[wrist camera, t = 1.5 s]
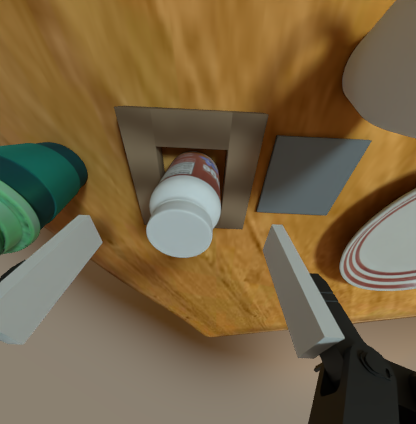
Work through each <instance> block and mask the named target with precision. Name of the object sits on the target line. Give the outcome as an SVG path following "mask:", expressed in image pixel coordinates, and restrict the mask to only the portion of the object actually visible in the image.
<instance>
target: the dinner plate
mask: <svg viewBox="0 0 416 424" xmlns="http://www.w3.org/2000/svg"><path fill="white" fill-rule="evenodd" d="M339 269H340V273H341V275H342V277H343V278H344V279H345V280H346V281H347V282H348V283H350V284H351V285H353V286H356V287H359V288H363V289H368V290H377V291H397V290H408V289H415V288H416V188H415V189H413V190H412V191H410V192H408V193H406V194H405V195H403V196H401V197H400V198H398V199H397V200H395V201H394V202H392V203H391V204H389V205H388V206H386V207H385V208H384V209H382V210H381V211H380V212H378V213H377V214H376V215H375V216H373V217H372V218H371V219H370V220H369V221H368V222H367V223H366V224H364V225H363V226H362V227H361V228H360V229H359V230H358V232H357V233H356V234H355V235H354V236H353V238H352V239H351V240H350V242H349V243H348V245H347V246H346V248H345V250H344V252H343V254H342V256H341V259H340V264H339Z"/></svg>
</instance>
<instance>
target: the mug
mask: <svg viewBox="0 0 416 424" xmlns="http://www.w3.org/2000/svg"><path fill="white" fill-rule="evenodd" d="M342 87H343V92H344V94H345V96H346V97H347V98H348V100H349V101H350V102H351V104H352V105H353V106H354V108H355V109H356V110H357V111H358V113H359V114H360V115H361V116H362V117H363V118H364V119H365V120H367V121H368V122H369V123H371V124H373V125H375V126H377V127H380V128H382V129H385V130H388V131H391V132H394V133H398V134H401V135H405V136H408V137H412V138H416V0H396V1H395V2H394V3H393V5H392V6H391V7H390V8H389V9H388V10H387V12H386V13H385V14H384V15H383V16H382V17H381V19H380V20H379V21H378V22H377V23H376V24H375V26H374V27H373V28H372V29H371V30H370V31H369V33H368V34H367V35H366V36H365V37H364V38H363V40H362V41H361V42H360V43H359V44H358V46H357V47H356V48H355V50H354V51H353V53H352V54H351V56H350V58H349V60H348V62H347V64H346V67H345V70H344V73H343V79H342Z"/></svg>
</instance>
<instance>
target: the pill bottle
mask: <svg viewBox="0 0 416 424" xmlns="http://www.w3.org/2000/svg"><path fill="white" fill-rule="evenodd" d="M149 208H150V213H151V217H150V219H149V221H148V224H147V228H146V233H147V237H148V239H149V241H150V243H151V244H152V245H153V246H154V247H155V248H156V249H157V250H159V251H161V252H162V253H164V254H167V255H169V256H173V257H179V258H188V257H193V256H196V255H199V254H201V253H202V252H204V251H205V250H206V249H207V248H208V247H209V245H210V243H211V240H212V230H213V228H214V227H215V226H216V224H217V223H218V221H219V218H220V214H221V200H220V185H219V173H218V169H217V166H216V165H215V163H214V162H213V160H212V159H211V158H210V157H208V156H207V155H205V154H203V153H201V152H196V151H189V152H185V153H182V154H180V155H179V156H178V157H176V158H175V159H174V161H173V162H172V163H171V165H170V167H169V168H168V170H167V171H166V173H165V174H164V176H163V177H162V179H161V180H160V182H159V183H158V185H157V186H156V188H155V189H154V191H153V193H152V195H151V198H150V203H149Z"/></svg>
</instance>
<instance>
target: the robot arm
mask: <svg viewBox="0 0 416 424" xmlns="http://www.w3.org/2000/svg"><path fill="white" fill-rule="evenodd" d="M102 243H103V242H102V240H101V238H100V236H99V234H98V232H97V230H96V228H95V226H94V223H93V221H92V219H91V217H90V215H78V216H77V217H76V218H75V219H74V220H72V221H71V222H70V223H69V224H68V225H67V226H65V227H64V228H63V229H62V230H61V231H60V232H58V233H57V234H56V235H55V236H54V237H53V238H51V239H50V240H49V241H48V242H47V243H45V244H44V245H43V246H42V247H41V248H40V249H39V250H37V251H36V252H35V253H34V254H33V255H31V256H30V257H29V258H28V259H27V260H24V261H22V262H20V263H18V264H17V265H15V266H13V267H12V268H10V269H9V270H8V271H7V272H6V273H4V274H3V275H2V276H1V278H0V340H1V341H3V342H5V343H8V344H24V343H25V342H26V340H27V339H28V338H29V337H30V336H31V334H32V333H33V332H34V330H35V329H36V328H37V327H38V325H39V324H40V323H41V321H42V320H43V319H44V317H45V316H46V315H47V313H48V312H49V311H50V310H51V308H52V307H53V306H54V304H55V303H56V302H57V301H58V299H59V298H60V297H61V296H62V294H63V293H64V292H65V290H66V289H67V288H68V287H69V285H70V284H71V283H72V281H73V280H74V279H75V277H76V276H77V275H78V274H79V272H80V271H81V270H82V268H83V267H84V266H85V264H86V263H87V262H88V261H89V259H90V258H91V257H92V256H93V254H94V253H95V252H96V250H97V249H98V248H99V247H100V245H101V244H102ZM263 253H264V256H265V259H266V262H267V265H268V268H269V271H270V274H271V277H272V280H273V283H274V286H275V289H276V293H277V296H278V299H279V302H280V305H281V308H282V311H283V314H284V317H285V320H286V323H287V326H288V329H289V332H290V335H291V338H292V341H293V344H294V348H295V351H296V354H297V356H298V358H315V357H317V356H318V355H320V357H321V359H322V363H321V364H319V365H317V366H316V367H315V369H314V371H315V372H318V371H320V372H319V377H318V381H317V386H316V391H315V395H314V400H313V405H312V409H311V414H310V418H309V422H308V424H416V372H415V371H412V370H410V369H407V368H405V367H402V366H400V365H398V364H395V363H393V362H390V361H388V360H386V359H384V358H383V357H382V355H380V354H379V353H378V352H377V351H375V350H374V349H373V348H372V347H370V346H368V345H367V344H366V343H365V342H364V341H363V340H362V338H361V337H360V335H359V334H358V332H357V330H356V329H355V327H354V326H353V324H352V322H351V321H350V319H349V318H348V316H347V314H346V313H345V311H344V310H343V308H342V306H341V305H340V303H338V300H337V298H336V297H335V295H334V294H333V292H332V290H331V289H330V287H329V285H328V284H327V282H326V281H325V280H324V279H323V278H322V277H321V276H320V275H319V274H312V273H309V272H308V270H307V268H306V267H305V265H304V263H303V261H302V259H301V258H300V256H299V254H298V252H297V250H296V249H295V247H294V245H293V243H292V241H291V239H290V238H289V236H288V234H287V232H286V230H285V229H284V227H283V225H273V224H272V226H271V228H270V231H269V234H268V237H267V240H266V242H265V245H264V248H263Z"/></svg>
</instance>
